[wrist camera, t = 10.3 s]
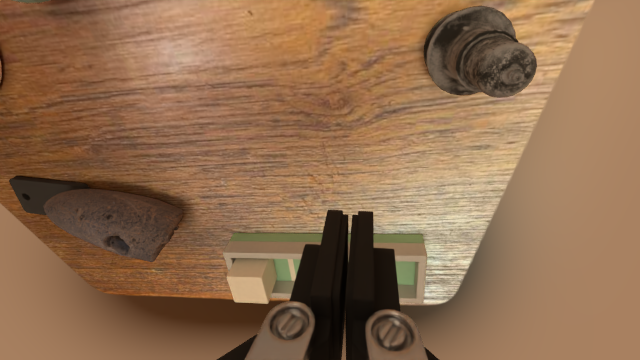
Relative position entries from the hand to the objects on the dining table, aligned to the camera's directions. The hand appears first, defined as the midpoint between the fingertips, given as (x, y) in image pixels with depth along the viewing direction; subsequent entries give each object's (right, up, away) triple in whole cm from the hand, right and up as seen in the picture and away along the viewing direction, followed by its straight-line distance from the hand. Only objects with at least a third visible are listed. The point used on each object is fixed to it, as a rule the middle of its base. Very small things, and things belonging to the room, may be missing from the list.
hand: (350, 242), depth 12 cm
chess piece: (+10, +13, +14) cm, 21 cm away
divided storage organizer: (0, -7, +26) cm, 27 cm away
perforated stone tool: (-24, 0, +26) cm, 35 cm away
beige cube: (-9, -8, +26) cm, 29 cm away
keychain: (-34, 0, +27) cm, 43 cm away
